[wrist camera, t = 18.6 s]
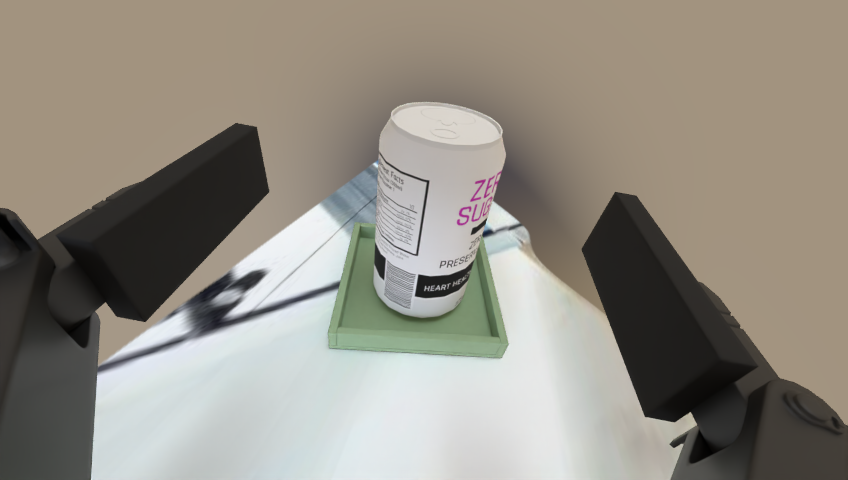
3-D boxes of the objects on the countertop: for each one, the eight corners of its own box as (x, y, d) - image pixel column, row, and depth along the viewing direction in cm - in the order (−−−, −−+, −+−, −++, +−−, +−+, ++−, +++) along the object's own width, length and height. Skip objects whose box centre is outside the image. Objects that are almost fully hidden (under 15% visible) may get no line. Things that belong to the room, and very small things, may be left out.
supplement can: (383, 248, 33) (394, 92, 24) (464, 263, 33) (508, 111, 23) (362, 313, 27) (364, 134, 17) (462, 331, 27) (519, 160, 17)
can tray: (329, 348, 24) (327, 333, 23) (355, 236, 35) (355, 221, 33) (501, 358, 26) (508, 344, 24) (477, 247, 36) (482, 233, 35)
